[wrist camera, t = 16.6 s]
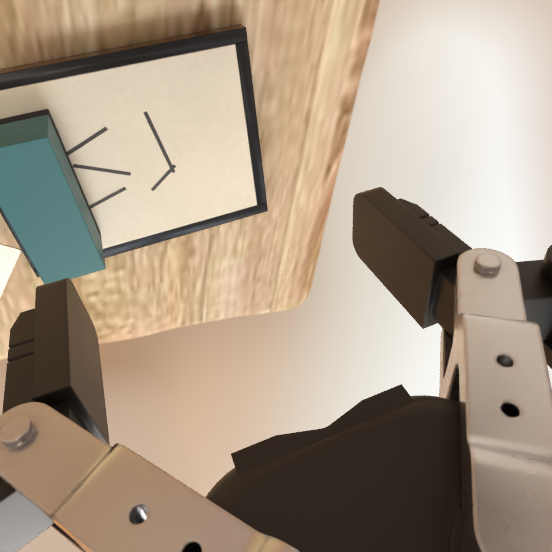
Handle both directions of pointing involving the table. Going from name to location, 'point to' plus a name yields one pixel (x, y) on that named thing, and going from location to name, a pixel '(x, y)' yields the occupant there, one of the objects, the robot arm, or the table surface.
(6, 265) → the picture card
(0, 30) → the table surface
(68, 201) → the eraser
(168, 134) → the whiteboard
